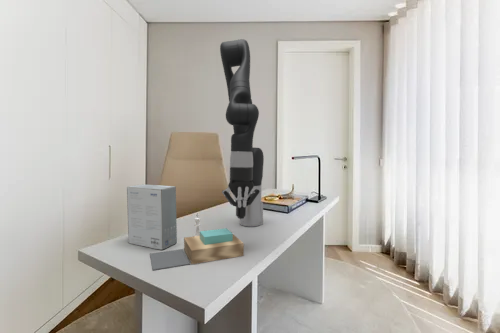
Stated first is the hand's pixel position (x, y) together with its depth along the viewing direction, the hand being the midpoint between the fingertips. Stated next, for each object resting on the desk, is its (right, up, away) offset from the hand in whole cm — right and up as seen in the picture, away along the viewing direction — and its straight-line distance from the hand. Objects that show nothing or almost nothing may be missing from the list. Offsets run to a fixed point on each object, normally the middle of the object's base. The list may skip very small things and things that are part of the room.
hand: (240, 218), depth 90 cm
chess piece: (-16, -10, +8) cm, 20 cm away
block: (-8, -6, -3) cm, 10 cm away
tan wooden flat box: (-9, -10, -3) cm, 14 cm away
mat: (-21, -11, -8) cm, 25 cm away
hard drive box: (-31, -10, +5) cm, 33 cm away
